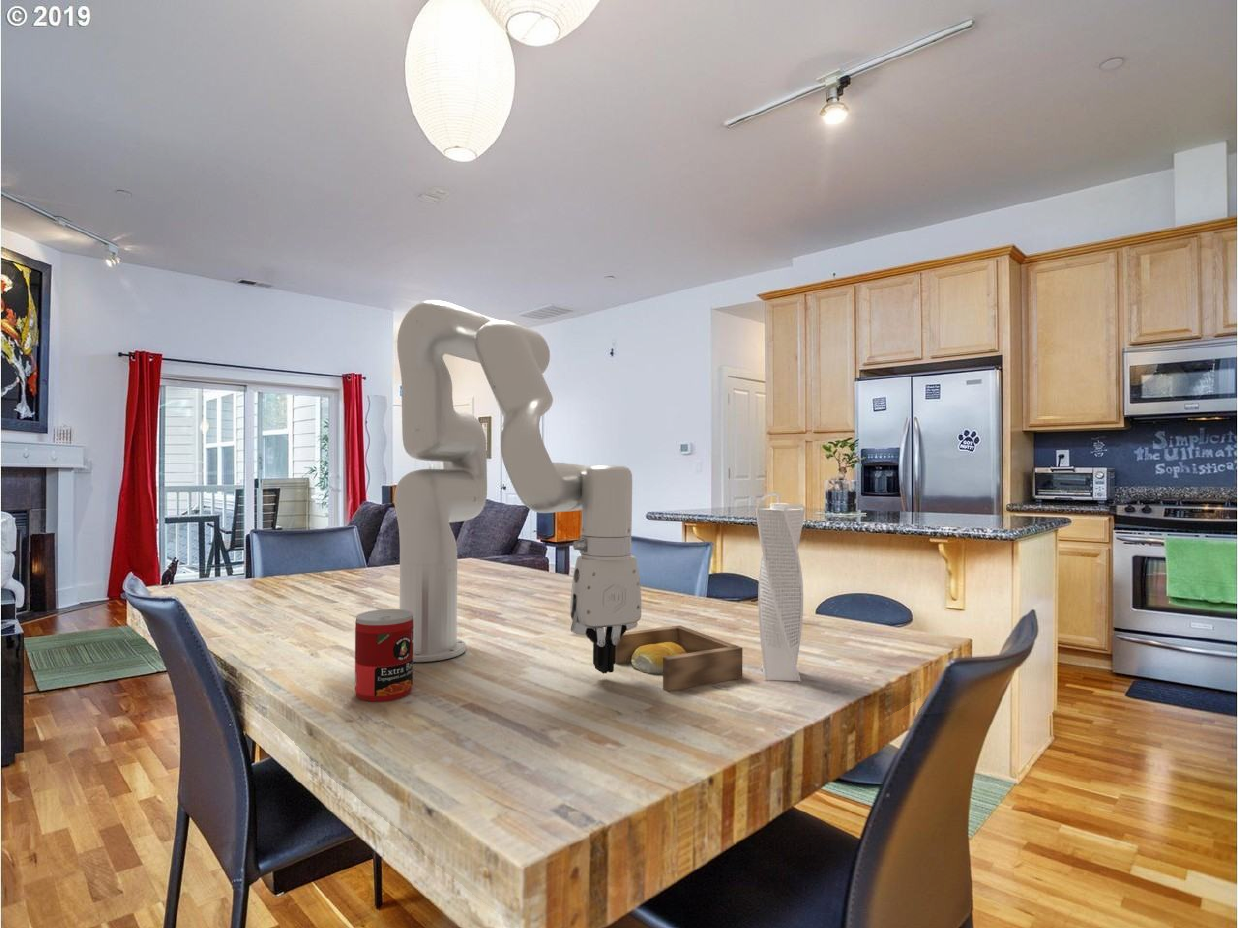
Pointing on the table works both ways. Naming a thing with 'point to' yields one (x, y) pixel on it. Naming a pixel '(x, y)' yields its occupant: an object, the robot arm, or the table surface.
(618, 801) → the table surface
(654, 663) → the bread roll
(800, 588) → the skyscraper
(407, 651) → the canned food
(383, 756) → the table surface
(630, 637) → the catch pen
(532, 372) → the robot arm
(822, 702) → the table surface
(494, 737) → the table surface
